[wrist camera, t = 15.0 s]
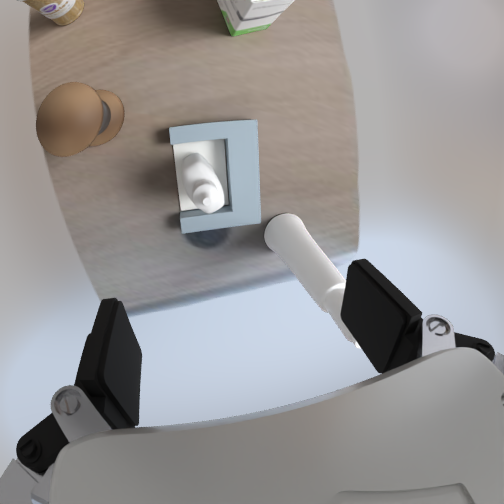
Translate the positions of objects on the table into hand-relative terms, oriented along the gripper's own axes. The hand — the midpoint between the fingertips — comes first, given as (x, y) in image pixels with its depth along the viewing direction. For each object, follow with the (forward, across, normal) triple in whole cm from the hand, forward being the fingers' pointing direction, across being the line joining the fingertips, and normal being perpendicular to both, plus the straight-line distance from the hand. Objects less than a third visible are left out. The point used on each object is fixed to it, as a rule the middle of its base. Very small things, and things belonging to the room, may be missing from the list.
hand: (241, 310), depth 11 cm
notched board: (+26, -2, 0) cm, 26 cm away
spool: (+26, +12, -10) cm, 31 cm away
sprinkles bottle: (+26, +16, -26) cm, 41 cm away
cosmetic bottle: (+26, -11, +10) cm, 30 cm away
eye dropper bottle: (+26, 0, 0) cm, 26 cm away
